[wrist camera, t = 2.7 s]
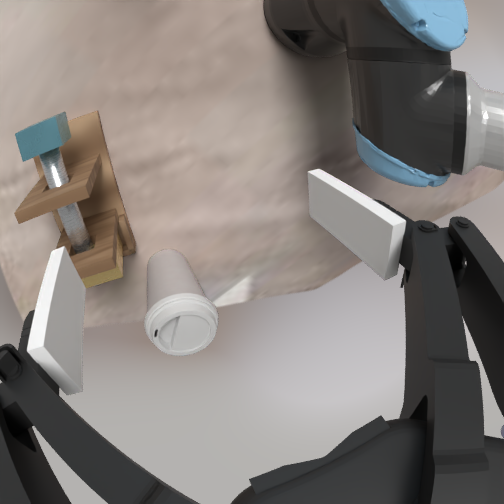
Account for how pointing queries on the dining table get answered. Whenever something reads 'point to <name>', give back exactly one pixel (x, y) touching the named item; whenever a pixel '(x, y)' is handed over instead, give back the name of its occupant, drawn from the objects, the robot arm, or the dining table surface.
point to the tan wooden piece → (108, 274)
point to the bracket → (85, 198)
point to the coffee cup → (177, 306)
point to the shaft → (55, 171)
